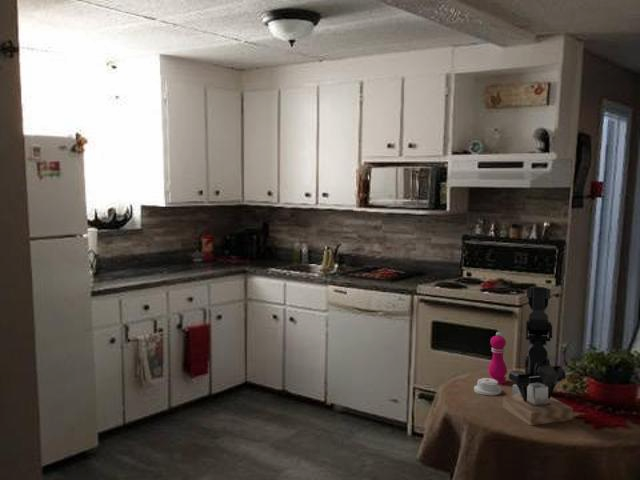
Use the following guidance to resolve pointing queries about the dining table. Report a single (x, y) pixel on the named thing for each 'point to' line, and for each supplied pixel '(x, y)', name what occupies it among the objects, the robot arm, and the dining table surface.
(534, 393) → the grey tall rectangular block
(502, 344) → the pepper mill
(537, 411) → the hole block
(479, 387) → the mechanical component
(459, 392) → the dining table surface
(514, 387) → the grey cube
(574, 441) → the dining table surface
